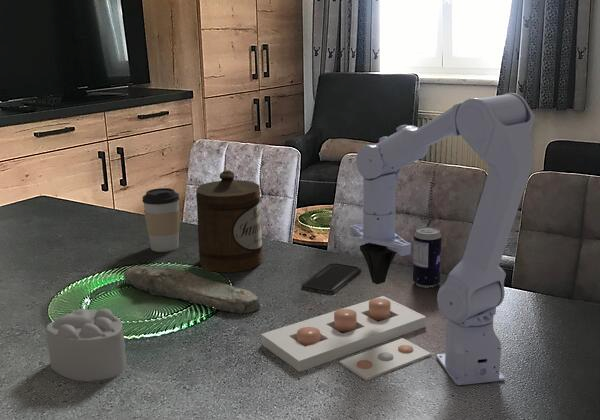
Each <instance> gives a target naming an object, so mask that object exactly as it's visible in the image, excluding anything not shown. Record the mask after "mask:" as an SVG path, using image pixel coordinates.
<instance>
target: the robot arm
mask: <svg viewBox="0 0 600 420" xmlns="http://www.w3.org/2000/svg"><path fill="white" fill-rule="evenodd" d="M535 119H536V116H535V114H534V112H533V111H532V109H531V107H530V105H529V104H528V102H527V101H526V99H525V98H524V97H523V96H521V95H520V94H518V93H515V92H507V93H504V94H501V95H500V94H499V95H494V96H487V97H481V98H480V97H473V98H472V97H471V98H468V99H466V100H465V101H462V102H460V103H457V104H454V105H452V106H451V107H450V108H448V109H447V110H445V111H444V112H442V113H441V114H439V115H437V116H436V117H435V118H433V119H431V120H429V121H428V122H426V123H425V124H423V125H422V126H421V125H420V127H418V126H416V125H408V124H402V125H399V126H398V127H396V128H395V129H396V132H394V133H393V134H391V135H389V136H382V137H380V138H378V142H377V143H376V144H365V145H362V147H361V148H360V149H359V150H358V151H357V153H356V157H355V164H356V168H357V171H358V173H359V175H361V176H362V184H363V185H362V194H363V195H362V206H363V207H362V212H363V213H362V224H359V223H357V224H352V225H349V236H350V237H353V238H354V237H357V238H358V241H359V242H361V243H364V244H361V245H359V250H360V252H361V254H362V255H363V258H364V259H365V262H366V265H367V267H368V272H369V274H370V279H371V282H372V283H373V284H375V285H380V284H383V283H386V279H387V276H388V272H389V269H390V266H391V264H392V262H393V259H394V257H395V256H396V255H397V253H398V255H399V256H401V257H405V256H409V255H411V253H412V252H411V250H412V243H410V242H407V241H406V240H405V239H404V238H402V237H401V236H400V235H398V234H397V233H396V209H397V208H396V203H397V201H396V197H397V195H396V194H397V184H398V182H399V176H400V173H401V172H402V170H403V169H404V167H407V166H408V165H410V164H412V163H415V162H417V161H419V160H421V159H422V158H424V157H425V156H426V155H427V154H428V152H429V148H430V146H432V145H434V144H436V143H438V142H440V141H443V140H445V139H447V138H450V137H453V136H456V137H458V136H461V137H462V138H463V140H464V141H465V142H466V143H467V145H468V146H469V147H470V148H471V149H472V150H473V151H474V152H475V153H476V155H477V156H478V157H479V158H481V160H482V161H483V162H484V163H486V164H487V166H488V168H489V169H488V173H487V177H486V180H485V183H484V187H483V190H482V193H481V196H480V200H479V204H478V206H477V210H476V213H475V216H474V220H473V222H472V223H473V224H472V227H471V230H470V233H469V237H468V240H467V243H466V247H465V250H464V253H463V257H462V258H461V260H460V261H459V262H458V263H457V264H456V265H455V266H454V268H452V270H451V271H450V272H449V273H448V276H447V279H446V281H445V282H444V283H443V284H442V285H441V286H440V288H439V289H438V292H437V296H436V297H437V298H436V300H437V305H438V308H439V310H440V313H442V315H443V318H444V319H445V320H446V328H445V329H446V330H445V331H446V333H445V352H444V353H437V354H436V356H435V358H436V359H437V360H438V361H439V363H440V364H441V366H442V367H443V369H444V370H445V371H446V372H447V374H448V375H449V377H450V378H451V380H452V381H453V382H454V383H455V385H457V386H464V385H474V384H483V383H491V382H503V381H505V376H504V375H503V373H502V372H501V371H500V370H501V368H500V367H501V355H502V344H501V341H500V339H499V337H498V335H497V334H496V331H495V329H494V317H495V315H496V314H497V307H499V306H500V305H501V304H503V301H504V299H505V285H504V284H505V279H506V276H507V274H506V272H505V270H504V269H503V268H502V267H501V266H500V265H501V260H502V258H503V255H504V252H505V249H506V246H507V243H508V239H509V237H510V234H511V231H512V228H513V225H514V222H515V218H516V216H517V213H518V210H519V207H520V204H521V202H522V201H521V200H522V198H523V195H524V192H525V189H526V186H527V183H528V180H529V177H530V175H531V171H532V168H533V158H534V157H533V149H532V148H533V146H532V134H531V132H532V129H533V125H534V123H535Z"/></svg>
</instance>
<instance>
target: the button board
mask: <svg viewBox="0 0 600 420" xmlns="http://www.w3.org/2000/svg"><path fill="white" fill-rule="evenodd" d="M376 298H382V299H387V300H389V301H390V302H391V312H390V317H389V318H388V319H384V320H380V321H377V320H376V319H373V318H371V317H369V301H370V300H371V299H369V300H365V301H362V302H360V303H356V304H354V305H353V304H352V305H349V306H347V307H346V306H345V307H344V308H342V309H350V310H353V311H355V312H356V314H357V327H356V329H354V330H352V331H346V332H344V333H342V332H341V331H339V330H337V329H335V328H334V312H335V311H337V310H338V309H336V310H333V311H330V312H328V313H324V314H322V315H318V316H314V317H311V318H308V319H305V320H301V321H299V322H295V323H292V324H289V325H285V326H283V327H279V328H276V329H273V330H269V331H267V332H263V333H261V334H260V335H261V336H260V339H261V345H262V346H263V347H265V348H266V349H267V350H268V351H270V352H272V353H273V354H274V355H275V356H276V357H278V358H279V359H281V360H282V361H283V362H285V363H287V364H288V365H289V366H290V367H292V368H293V369H294V370H296V371H297V372H299V373H301V372H303V371H306V370H309V369H312V368H315V367H318V366H321V365H323V364H326V363H329V362H331V361H334V360H337V359H339V358H342V357H346V356H348V355H351V354H354V353H356V352H359V351H362V350H365V349H367V348H370V347H373V346H375V345H378V344H381V343H384V342H387V341H390V340H392V339H395V338H396V339H397V338H398V337H400V336H404V335H406V334H409V333H413V332H415V331H417V330H421V329H423V328H425V327H426V325H427V316H426V315H423V314H421V313H419V312H417V311H415V310H413V309H412V308H409V307H407V306H405V305H403V304H400V303H399V302H397V301H394V300H393V299H391V298H389V297H387V296H384V295H381V296H378V297H375V298H374V299H376ZM304 327H314V328H317V329H319V330H320V342H318V343H315V344H312V345H309V346H306V347H304V346H303V345H301V344H300V343H298V342H297V331H298V330H299V329H301V328H304Z"/></svg>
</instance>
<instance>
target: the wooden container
mask: <svg viewBox="0 0 600 420" xmlns="http://www.w3.org/2000/svg"><path fill="white" fill-rule="evenodd" d="M219 178H220V179H221V180H216V181H210V182H206V183H203V184H201V185H199V186H197V187H196V191H195V193H196V194H195V195H196V197H195V198H196V211H197V212H196V214H197V216H196V217H197V238H198V239H197V241H198V254H199V255H198V256H199V265H200V266H201V267H202V268H203V269H205V270H208V271H210V270H211V272H216V273H238V272H243V271H248V270H251V269H254V268H255V267H259V265H261V264H262V263H263V262H262V261H263V229H262V228H263V227H262V216H261V215H262V214H261V213H262V211H261V201H260V200H261V191H260V185H259V184H258V183H257V182H256V183H255V182H253V181H248V180H236V179H234V178H235V173H234V172H233V171H231V170H223V171H222V172H221V173H219Z"/></svg>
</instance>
